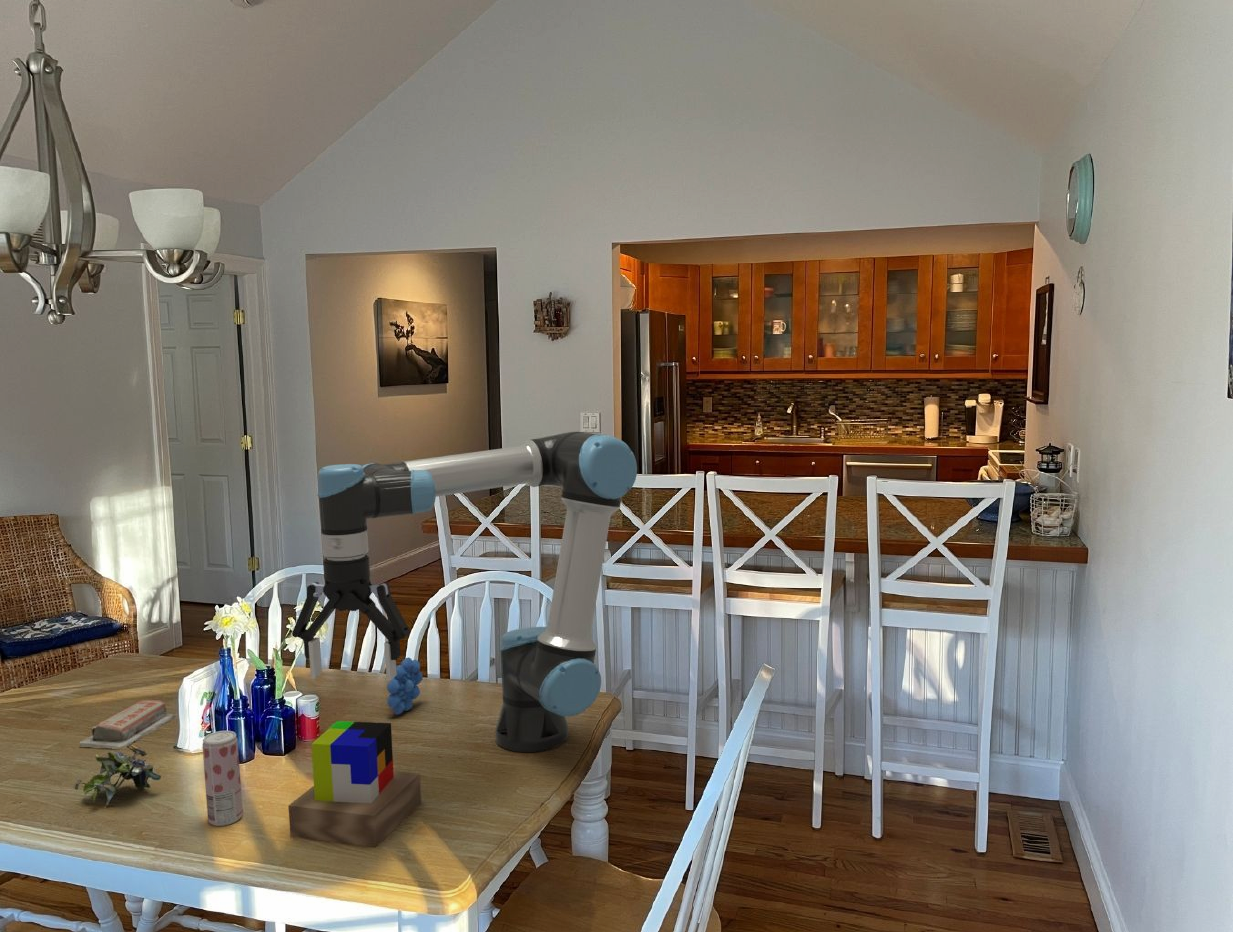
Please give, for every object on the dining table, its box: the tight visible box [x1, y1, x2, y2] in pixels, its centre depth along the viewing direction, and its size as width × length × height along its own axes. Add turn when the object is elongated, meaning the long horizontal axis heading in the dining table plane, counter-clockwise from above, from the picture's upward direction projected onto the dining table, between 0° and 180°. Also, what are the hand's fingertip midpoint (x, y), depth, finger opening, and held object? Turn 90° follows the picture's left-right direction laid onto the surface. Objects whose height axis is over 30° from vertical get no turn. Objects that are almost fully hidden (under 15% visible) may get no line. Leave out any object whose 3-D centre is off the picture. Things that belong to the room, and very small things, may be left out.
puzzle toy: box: [310, 720, 394, 803], centre depth 164 cm, size 10×10×10 cm
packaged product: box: [79, 699, 176, 749], centre depth 206 cm, size 18×5×10 cm
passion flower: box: [74, 744, 162, 808], centre depth 174 cm, size 11×11×12 cm
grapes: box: [386, 657, 424, 715], centre depth 214 cm, size 12×7×12 cm, turn 155°
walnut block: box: [287, 770, 422, 848], centre depth 165 cm, size 16×16×6 cm
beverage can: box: [202, 730, 244, 827], centre depth 165 cm, size 6×6×15 cm
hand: (353, 677), depth 164 cm, fingers open, 13 cm apart
